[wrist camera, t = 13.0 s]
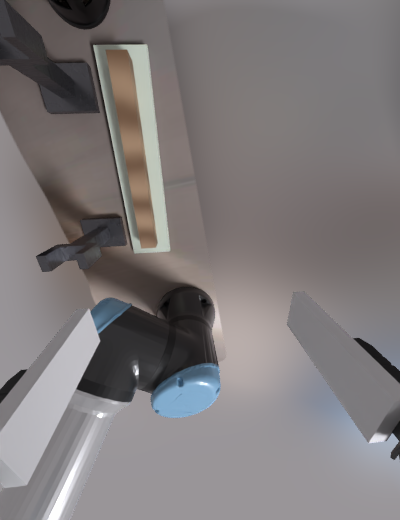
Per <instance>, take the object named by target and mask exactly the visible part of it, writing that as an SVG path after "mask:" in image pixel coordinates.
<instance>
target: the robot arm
mask: <svg viewBox="0 0 400 520" xmlns="http://www.w3.org/2000/svg"><path fill="white" fill-rule="evenodd" d="M214 319H215V309H214V304H213V302H212V300H211V298H210V297H209V296H208V295H207V294H206V293H205V292H203V291H201V290H199V289H196V288H191V287H183V288H178V289H175V290H172V291H171V292H169V293H167V294H166V295H165V296H164V297H163V298H162V300H161V301H160V304H159V307H158V313H157V317H156V316H154V315H152V314H150V313H147V312H145V311H143V310H141V309H139V308H137V307H134V306H132V304H131V303H130V304H128V303H125V302H123V301H120V300H118V299H115V298H105V299H103V300H102V301H100V302H99V303H98V304H97V305H96V306H95V307H94V308H93V309H92V311H91V312H90V310H89V308H87V309H77V310H75V312H74V313H73V314H72V315H71V317H70V318H69V319H68V320H67V322H66V323H65V324H64V325H63V327H62V328H61V329H60V330H59V332H58V333H57V334H56V336H54V338H53V339H52V340H51V341H50V343H49V344H48V345H47V346H46V348H45V349H44V350H43V351H42V353H41V354H40V355H39V357H38V358H37V359H36V360H35V361H34V363H33V364H32V365H31V366H30V367H29V369H27V370H21V371H19V372H18V373H17V374H16V375H15V376H13V377H12V378H11V379H10V380H8V381H7V382H6V384H5V385H4V386H3V387H2V388H1V389H0V484H1V485H2V486H3V489H2V491H1V492H0V520H70V519H71V517H72V514H73V512H74V510H75V507H76V505H77V503H78V500H79V497H80V495H81V493H82V491H83V488H84V486H85V484H86V481H87V479H88V476H89V474H90V472H91V470H92V467H93V465H94V463H95V460H96V458H97V456H98V453H99V451H100V449H101V446H102V444H103V442H104V439H105V436H106V434H107V432H108V430H109V427H110V425H111V423H112V420H113V418H114V415H115V414H116V413H117V412H118V411H120V410H122V409H123V408H125V407H126V406H128V405H129V404H130V403H131V401H132V399H133V396H134V394H135V391H136V389H139V390H142V391H146V392H148V393H151V394H152V395H151V403H152V404H151V405H152V408H153V409H154V410H155V412H156V413H157V414H159V415H161V416H164V417H169V418H180V417H187V416H190V415H193V414H197V413H199V412H201V411H203V410H205V409H206V408H208V407H209V406H210V405H211V404H213V402H214V401H215V400H216V399H217V397H218V395H219V392H220V376H219V373H220V370H219V366H218V361H217V356H216V351H215V346H214V341H213V336H212V327H213V323H214ZM287 325H288V327H289V328H290V330H291V331H292V333H293V334H294V335H295V337H296V338H297V340H298V341H299V343H300V344H301V346H302V347H303V348H304V350H305V352H306V353H307V354H308V356H309V357H310V359H311V360H312V362H313V363H314V365H315V366H316V368H317V369H318V370H319V372H320V373H321V375H322V376H323V378H324V379H325V381H326V382H327V384H328V385H329V386H330V388H331V389H332V391H333V392H334V394H335V395H336V396H337V398H338V399H339V401H340V402H341V404H342V405H343V407H344V408H345V410H346V411H347V413H348V414H349V415H350V417H351V418H352V420H353V421H354V423H355V424H356V426H357V427H358V429H359V430H360V431H361V433H362V434H363V436H364V437H365V439H366V440H367V442H368V443H374V442H381V441H387V440H388V438H389V437H390V435H391V434H392V433H393V434H394V435H395V436H396V437H397V439H398V440H399V443H398V444H397V445H396V447H395V448H394V449H393V451H392V452H391V458H392V459H394V460H395V458H396V457H397V456H398V455H399V458H400V371H399V370H398V369H397V368H396V367H395V366H392V365H391V363H390V362H389V361H388V360H387V359H386V358H385V357H383V356H382V354H380V353H379V352H378V351H377V350H376V349H375V348H374V347H373V346H372V345H370V344H368V343H366V342H365V341H363V340H362V339H360V338H352V337H351V336H350V335H349V334H348V333H347V332H346V331H345V330H344V329H343V328H342V327H341V326H340V325H339V324H338V323H336V322H335V321H334V320H333V319H332V318H331V317H330V316H329V315H328V314H327V313H326V312H325V311H324V310H323V309H322V308H321V307H320V306H319V305H318V304H317V303H316V302H315V301H314V300H312V298H311V297H310V296H308V295H307V294H306V293H305V292H293V295H292V301H291V306H290V311H289V316H288V322H287Z"/></svg>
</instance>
